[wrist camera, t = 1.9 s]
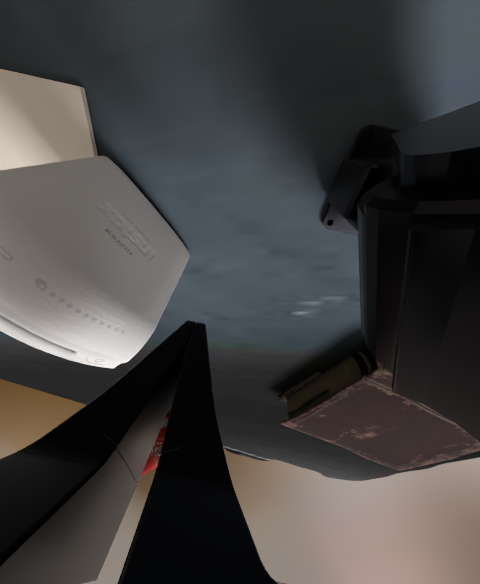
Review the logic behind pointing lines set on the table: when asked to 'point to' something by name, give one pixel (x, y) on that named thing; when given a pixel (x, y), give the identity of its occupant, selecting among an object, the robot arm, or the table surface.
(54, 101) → the mat
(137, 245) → the photo printer
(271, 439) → the table surface
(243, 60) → the table surface
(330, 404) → the diary
